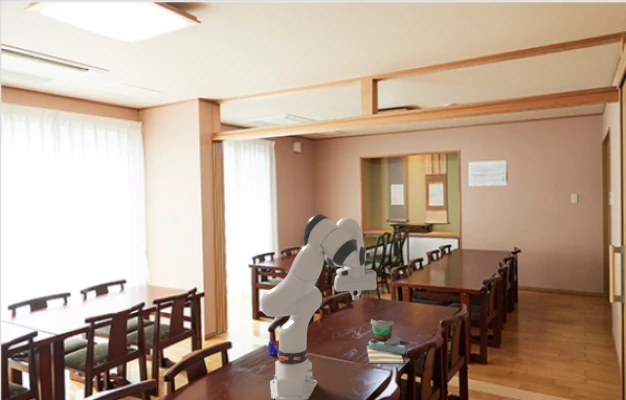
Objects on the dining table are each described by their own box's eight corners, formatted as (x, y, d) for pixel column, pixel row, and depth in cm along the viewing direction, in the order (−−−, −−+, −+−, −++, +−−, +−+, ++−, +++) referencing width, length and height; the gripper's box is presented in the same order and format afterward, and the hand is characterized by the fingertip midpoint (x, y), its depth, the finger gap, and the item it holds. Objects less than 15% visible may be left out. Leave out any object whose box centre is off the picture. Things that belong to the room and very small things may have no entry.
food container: (367, 340, 229) (367, 320, 229) (371, 336, 234) (371, 317, 234) (390, 343, 223) (390, 323, 223) (394, 339, 229) (393, 320, 229)
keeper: (384, 354, 207) (384, 342, 207) (393, 347, 216) (393, 336, 216) (392, 356, 205) (392, 344, 205) (401, 349, 214) (401, 337, 214)
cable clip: (291, 349, 217) (291, 337, 217) (294, 352, 213) (294, 340, 213) (267, 353, 213) (267, 340, 213) (270, 356, 209) (270, 343, 209)
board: (403, 363, 196) (403, 351, 196) (369, 363, 197) (369, 351, 197) (397, 347, 216) (397, 337, 216) (366, 347, 217) (366, 337, 217)
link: (367, 348, 212) (367, 342, 212) (371, 345, 216) (370, 339, 216) (402, 354, 203) (402, 348, 203) (405, 351, 207) (405, 345, 207)
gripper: (374, 268, 212) (374, 297, 212) (333, 270, 209) (333, 299, 209) (378, 270, 206) (378, 300, 206) (336, 272, 203) (336, 302, 203)
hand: (355, 299), depth 208 cm, fingers closed
